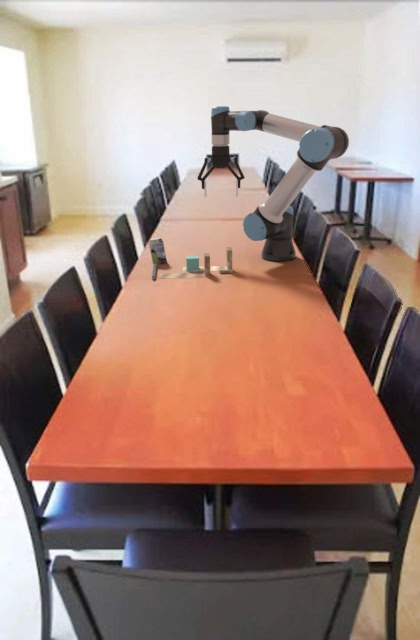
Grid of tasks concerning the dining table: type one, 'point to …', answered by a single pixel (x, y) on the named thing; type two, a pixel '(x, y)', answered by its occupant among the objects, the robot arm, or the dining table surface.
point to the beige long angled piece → (219, 268)
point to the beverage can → (157, 251)
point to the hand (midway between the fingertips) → (221, 196)
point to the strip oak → (191, 275)
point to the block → (192, 263)
